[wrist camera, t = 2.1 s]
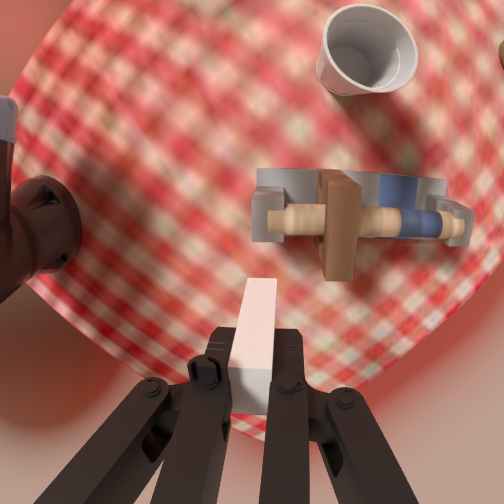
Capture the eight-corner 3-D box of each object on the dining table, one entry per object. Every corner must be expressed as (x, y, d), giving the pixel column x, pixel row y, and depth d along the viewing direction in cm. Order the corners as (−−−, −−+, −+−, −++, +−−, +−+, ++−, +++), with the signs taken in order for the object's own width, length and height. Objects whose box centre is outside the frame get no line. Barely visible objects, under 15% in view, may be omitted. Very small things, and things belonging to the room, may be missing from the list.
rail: (258, 233, 38) (252, 262, 30) (257, 168, 34) (250, 180, 27) (436, 238, 36) (466, 265, 28) (444, 179, 32) (480, 195, 25)
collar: (314, 240, 36) (325, 281, 27) (317, 168, 32) (332, 185, 23) (335, 241, 36) (352, 281, 26) (339, 169, 32) (362, 186, 23)
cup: (388, 87, 29) (434, 73, 18) (332, 114, 31) (358, 108, 20) (352, 30, 27) (383, -7, 16) (295, 56, 29) (302, 23, 18)
